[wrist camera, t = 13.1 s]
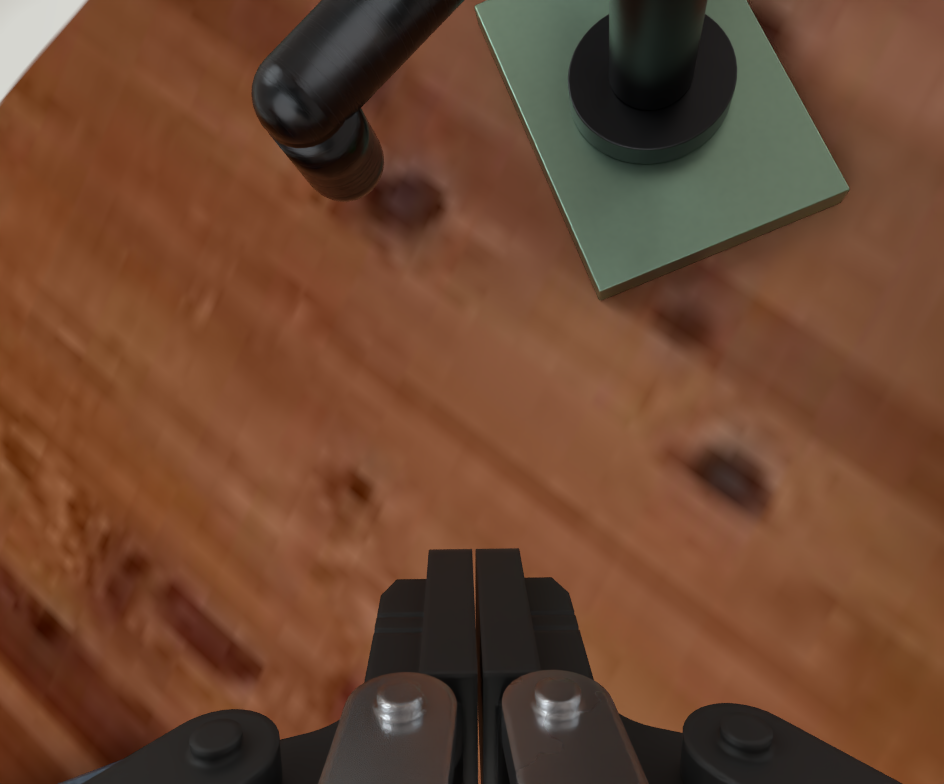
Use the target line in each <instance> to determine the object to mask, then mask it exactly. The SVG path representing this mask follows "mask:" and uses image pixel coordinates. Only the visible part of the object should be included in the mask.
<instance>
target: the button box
mask: <svg viewBox="0 0 944 784" xmlns="http://www.w3.org/2000/svg"><path fill="white" fill-rule="evenodd" d="M120 761H121V760H120ZM117 762H119V761H117ZM117 762H114V763H112V764H109V765H106V766H104V767H101V768H98V769H96V770H93V771H90V772H88V773H85V774H82V775H80V776H77V777H74V778H72V779H69V780H66V781H64V782H61V783H58V784H82V783H84V782H85V781H87V780H89V779H90V778H92V777H94V776H95V775H97V774H99V773H101V772H102V771H104V770H106V769H107V768H109V767H111V766H112V765H114V764H116V763H117Z"/></svg>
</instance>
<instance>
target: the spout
mask: <svg viewBox="0 0 944 784" xmlns="http://www.w3.org/2000/svg"><path fill="white" fill-rule="evenodd" d="M463 1H464V0H322V1H321V2H320V3H319V4H318V5H317V6H316V7H315V8H314V9H313V10H312V11H311V12H310V13H309V14H308V15H307V16H306V17H305V18H304V19H303V20H302V21H301V22H300V23H299V24H298V25H297V26H296V27H295V28H294V29H293V31H292V32H291V33H290V34H289V35H288V36H287V37H286V38H285V39H284V40H283V41H282V42H281V43H280V44H279V45H278V46H277V47H276V48H275V49H274V50H273V51H272V52H271V53H270V54H269V55H268V56H267V57H266V58H265V59H264V61H263V62H262V63H261V65H260V66H259V68H258V70H257V72H256V74H255V76H254V80H253V84H252V101H253V107H254V109H255V112H256V115H257V117H258V119H259V121H260V122H261V124H262V126H263V127H264V128H265V129H266V130H267V131H268V133H269V134H270V135H271V137H272V138H273V139H274V140H275V142H276V143H277V144H278V145H279V147H280V148H281V149H282V150H283V151H284V153H285V154H286V155H287V156H288V158H289V159H290V160H291V161H292V163H293V164H294V165H295V166H296V167H297V169H298V170H299V171H300V172H301V174H302V175H303V176H304V177H305V179H306V180H307V181H308V182H309V183H310V185H311V186H312V187H313V188H314V189H315V190H316V191H317V192H319V193H320V194H321V195H323V196H324V197H327V198H329V199H332V200H335V201H340V202H348V201H353V200H357V199H360V198H362V197H364V196H366V195H367V194H368V193H370V192H371V191H372V190H373V189H374V187H375V186H376V185H377V183H378V181H379V180H380V178H381V175H382V172H383V166H384V156H383V151H382V147H381V144H380V142H379V140H378V138H377V136H376V134H375V133H374V131H373V129H372V127H371V125H370V124H369V122H368V120H367V118H366V116H365V115H364V113H363V111H362V109H361V107H362V106H363V105H364V104H365V103H366V102H367V101H368V100H369V99H370V98H371V97H372V96H373V95H374V94H375V93H376V91H377V90H378V89H379V88H380V87H381V86H382V85H383V84H384V83H385V82H386V81H387V80H388V79H389V78H390V77H391V76H392V75H393V74H394V73H395V72H396V71H397V70H398V69H399V68H400V67H401V65H402V64H403V63H404V62H405V61H406V60H407V59H408V58H409V57H410V56H411V55H412V54H413V53H414V52H415V51H416V50H417V49H418V48H419V47H420V46H421V45H422V44H423V43H424V42H425V41H426V40H427V38H428V37H429V36H430V35H431V34H432V33H433V32H434V31H435V30H436V29H437V28H438V27H439V26H440V25H441V24H442V23H443V22H444V21H445V20H446V19H447V18H448V17H449V16H450V15H451V14H452V12H453V11H454V10H455V9H456V8H457V7H458V6H459V5H460V4H461V3H462V2H463Z"/></svg>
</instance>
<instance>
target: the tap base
mask: <svg viewBox="0 0 944 784" xmlns="http://www.w3.org/2000/svg"><path fill="white" fill-rule="evenodd" d="M475 12H476V16H477V20H478V24H479V26H480V29H481V31H482V33H483V36H484V38H485V40H486V42H487V45H488V47H489V49H490V52H491V54H492V56H493V58H494V61H495V63H496V65H497V68H498V70H499V72H500V74H501V77H502V79H503V81H504V84H505V86H506V88H507V90H508V93H509V95H510V97H511V100H512V102H513V104H514V107H515V109H516V111H517V113H518V116H519V118H520V120H521V123H522V125H523V127H524V129H525V132H526V134H527V136H528V139H529V141H530V143H531V145H532V148H533V150H534V152H535V155H536V157H537V159H538V161H539V164H540V166H541V168H542V171H543V173H544V175H545V177H546V180H547V182H548V184H549V187H550V189H551V191H552V193H553V196H554V198H555V200H556V203H557V205H558V207H559V209H560V212H561V214H562V216H563V219H564V221H565V223H566V226H567V228H568V230H569V232H570V235H571V237H572V239H573V242H574V244H575V246H576V248H577V251H578V253H579V255H580V258H581V260H582V262H583V264H584V267H585V269H586V271H587V274H588V276H589V278H590V280H591V283H592V285H593V287H594V290H595V292H596V294H597V296H598V299H599V300H604V299H606V298H608V297H611V296H613V295H616V294H618V293H621V292H623V291H626V290H628V289H630V288H633V287H635V286H638V285H640V284H643V283H645V282H648V281H650V280H653V279H655V278H657V277H660V276H662V275H665V274H667V273H670V272H672V271H675V270H677V269H679V268H682V267H684V266H687V265H689V264H692V263H694V262H697V261H699V260H702V259H704V258H706V257H709V256H711V255H714V254H716V253H719V252H721V251H724V250H726V249H728V248H731V247H733V246H736V245H738V244H741V243H743V242H746V241H748V240H750V239H753V238H755V237H758V236H760V235H763V234H765V233H768V232H770V231H773V230H775V229H777V228H780V227H782V226H785V225H787V224H790V223H792V222H795V221H797V220H799V219H802V218H804V217H807V216H809V215H812V214H814V213H817V212H819V211H822V210H824V209H826V208H829V207H831V206H834V205H836V204H839V203H841V201H842V200H843V199H844V197H845V196H846V194H847V193H848V191H849V187H848V185H847V183H846V181H845V179H844V177H843V176H842V174H841V172H840V170H839V168H838V166H837V165H836V163H835V161H834V159H833V157H832V156H831V154H830V152H829V150H828V148H827V146H826V145H825V143H824V141H823V139H822V137H821V135H820V134H819V132H818V130H817V128H816V126H815V125H814V123H813V121H812V119H811V117H810V115H809V114H808V112H807V110H806V108H805V106H804V104H803V103H802V101H801V99H800V97H799V95H798V94H797V92H796V90H795V88H794V86H793V84H792V83H791V81H790V79H789V77H788V75H787V73H786V72H785V70H784V68H783V66H782V64H781V63H780V61H779V59H778V57H777V55H776V53H775V52H774V50H773V48H772V46H771V44H770V42H769V41H768V39H767V37H766V35H765V33H764V32H763V30H762V28H761V26H760V24H759V22H758V21H757V19H756V17H755V15H754V13H753V11H752V10H751V8H750V6H749V4H748V2H747V1H746V0H487V1H484V2H482V3H480V4H478V5H475Z"/></svg>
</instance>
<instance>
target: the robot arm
mask: <svg viewBox="0 0 944 784" xmlns="http://www.w3.org/2000/svg"><path fill="white" fill-rule="evenodd" d="M478 723H479V746H480V770H481V784H902V783H900V782H898V781H896V780H894V779H893V778H891V777H889V776H887V775H885V774H883V773H881V772H880V771H878V770H876V769H874V768H872V767H870V766H868V765H867V764H865V763H863V762H861V761H859V760H857V759H855V758H854V757H852V756H850V755H848V754H846V753H844V752H842V751H841V750H839V749H837V748H835V747H833V746H831V745H829V744H828V743H826V742H824V741H822V740H820V739H818V738H816V737H815V736H813V735H811V734H809V733H807V732H805V731H803V730H802V729H800V728H798V727H796V726H794V725H792V724H790V723H789V722H787V721H785V720H783V719H781V718H779V717H777V716H775V715H773V714H771V713H769V712H767V711H764V710H761V709H759V708H755V707H751V706H747V705H741V704H733V703H720V704H712V705H707V706H704V707H701V708H699V709H697V710H696V711H694V712H693V713H691V714H690V715H689V716H688V718H687V719H686V721H685V723H684V726H683V733H680V732H675V731H670V730H665V729H660V728H655V727H651V726H647V725H643V724H641V723H638V722H635V721H632V720H630V719H628V718H626V717H624V716H622V715H621V714H619V713H618V711H617V709H616V707H615V704H614V702H613V700H612V698H611V696H610V694H609V693H608V692H607V691H606V689H605V688H604V687H602V686H601V685H600V684H599V683H597V682H596V681H594V679H593V676H592V672H591V669H590V665H589V662H588V658H587V655H586V651H585V648H584V644H583V641H582V637H581V634H580V630H578V623H577V620H576V616H575V615H574V609H573V606H572V602H571V599H570V595H569V593H568V592H567V591H566V590H565V589H564V588H563V587H562V586H561V585H559V584H558V583H557V582H556V581H555V580H554V579H553V578H552V577H545V578H524V573H523V568H522V562H521V557H520V551H519V548H516V549H476V628H475V605H474V583H473V560H472V549H444V550H429V555H428V567H427V579H400V580H396V581H395V582H394V583H393V584H392V585H391V586H390V587H389V588H388V589H387V590H386V591H385V592H384V593H383V594H382V595H381V598H380V603H379V609H378V614H377V619H376V624H375V633H374V635H373V640H372V645H371V651H370V656H369V661H368V666H367V671H366V677H365V682H364V683H363V684H362V685H360V686H359V687H357V688H356V689H355V690H354V691H353V692H352V693H351V695H350V696H349V697H348V699H347V701H346V703H345V706H344V709H343V712H342V715H341V718H340V720H338V721H337V722H335V723H333V724H331V725H329V726H327V727H325V728H322V729H320V730H317V731H313V732H310V733H306V734H302V735H298V736H294V737H290V738H286V739H281V740H280V738H279V731H278V729H277V727H276V725H275V724H274V723H273V722H272V721H271V720H270V719H269V718H267V717H266V716H264V715H262V714H260V713H257V712H253V711H249V710H239V709H231V710H221V711H216V712H211V713H208V714H204V715H201V716H198V717H196V718H193V719H191V720H189V721H187V722H185V723H183V724H182V725H180V726H178V727H177V728H175V729H173V730H171V731H170V732H168V733H166V734H165V735H163V736H161V737H160V738H158V739H156V740H155V741H153V742H151V743H150V744H148V745H146V746H144V747H143V748H141V749H139V750H138V751H136V752H134V753H133V754H131V755H129V756H128V757H126V758H124V759H122V760H121V761H119V762H117V763H116V764H114V765H112V766H111V767H109V768H107V769H106V770H104V771H102V772H101V773H99V774H97V775H95V776H94V777H92V778H90V779H89V780H87V781H85V782H84V783H82V784H478Z"/></svg>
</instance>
